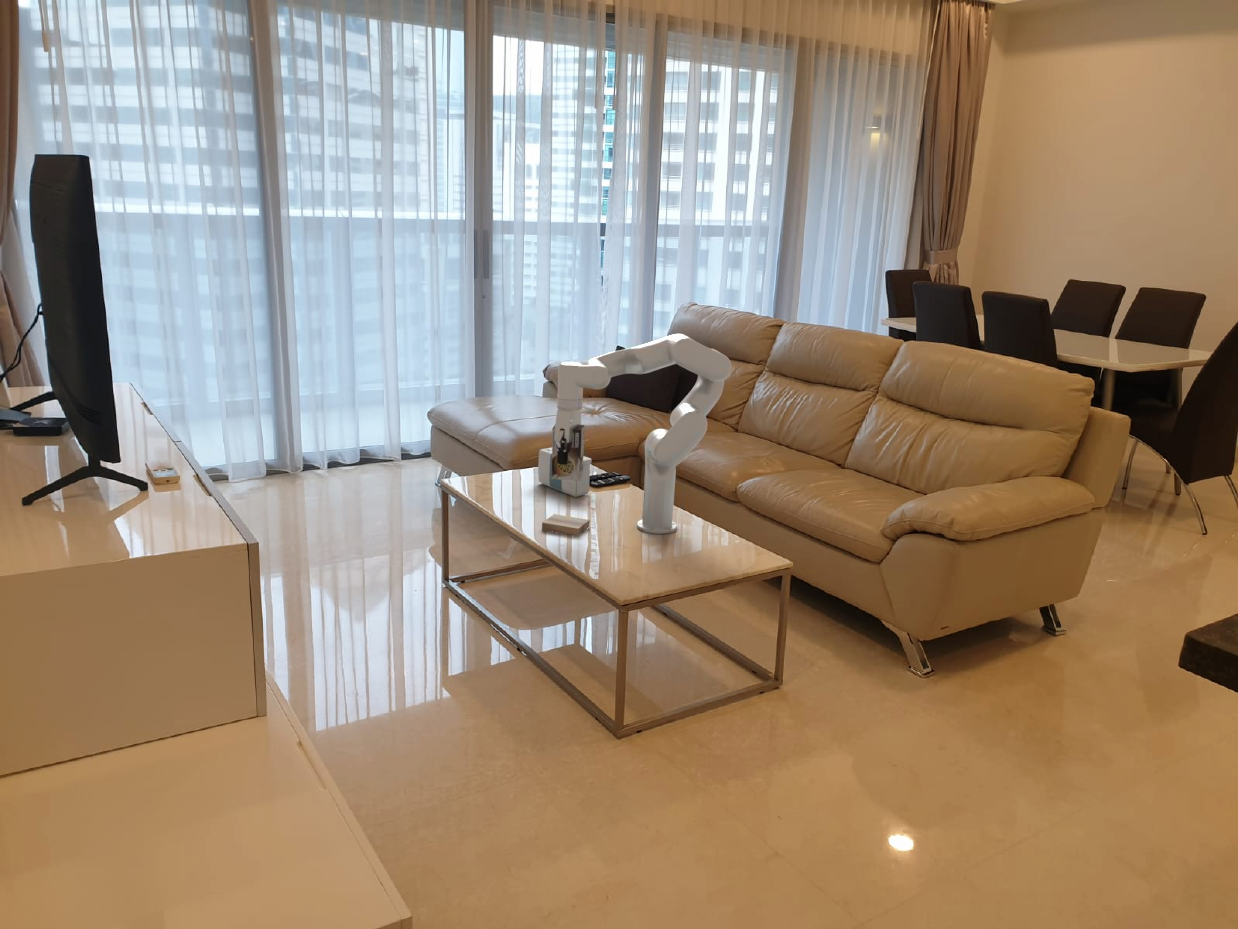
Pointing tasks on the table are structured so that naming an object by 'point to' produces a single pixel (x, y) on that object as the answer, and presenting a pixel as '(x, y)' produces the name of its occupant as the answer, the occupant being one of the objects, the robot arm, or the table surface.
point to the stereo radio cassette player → (564, 486)
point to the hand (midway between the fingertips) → (567, 460)
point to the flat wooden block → (565, 525)
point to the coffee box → (569, 457)
